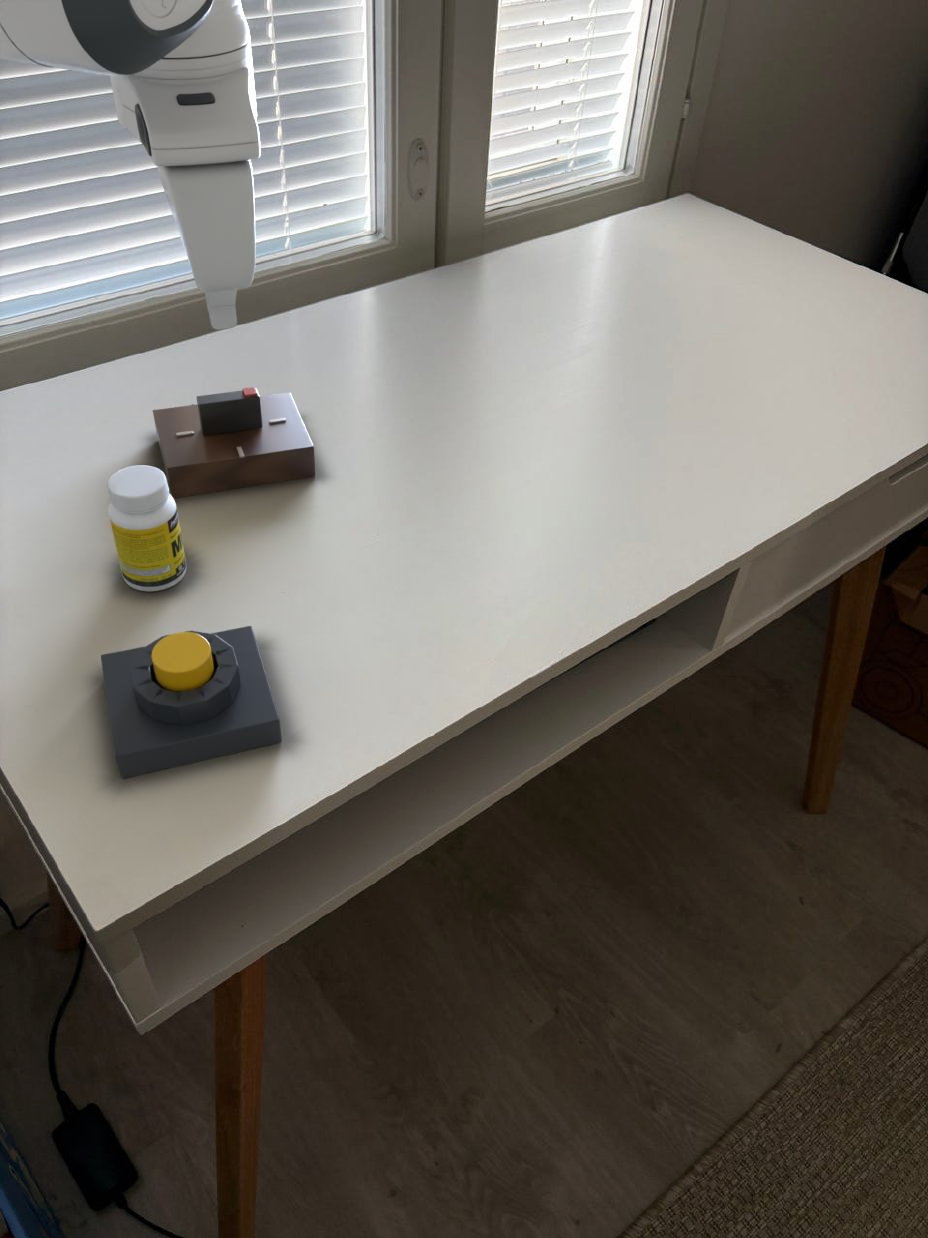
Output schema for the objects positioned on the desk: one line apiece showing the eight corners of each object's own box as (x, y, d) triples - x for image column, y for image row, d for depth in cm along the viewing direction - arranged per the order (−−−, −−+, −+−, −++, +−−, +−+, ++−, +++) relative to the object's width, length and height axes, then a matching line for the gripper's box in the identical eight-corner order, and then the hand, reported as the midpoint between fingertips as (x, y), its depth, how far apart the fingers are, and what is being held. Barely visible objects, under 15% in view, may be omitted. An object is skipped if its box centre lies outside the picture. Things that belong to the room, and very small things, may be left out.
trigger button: (159, 697, 62) (155, 678, 61) (152, 657, 65) (147, 638, 63) (218, 685, 63) (215, 665, 62) (208, 646, 66) (205, 626, 65)
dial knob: (203, 435, 84) (198, 401, 82) (200, 427, 85) (195, 393, 83) (262, 427, 86) (259, 393, 84) (259, 418, 87) (256, 385, 84)
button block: (120, 779, 62) (108, 737, 59) (106, 677, 68) (95, 635, 65) (282, 742, 65) (277, 700, 62) (254, 647, 71) (249, 605, 68)
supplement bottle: (190, 588, 75) (174, 496, 69) (124, 598, 74) (103, 505, 68) (183, 548, 78) (168, 457, 73) (120, 557, 77) (99, 465, 71)
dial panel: (172, 499, 83) (166, 467, 81) (157, 438, 89) (151, 407, 87) (315, 476, 86) (314, 445, 84) (291, 420, 92) (289, 389, 90)
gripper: (117, 45, 70) (150, 240, 80) (153, 147, 57) (188, 367, 66) (208, 41, 72) (230, 232, 82) (264, 139, 58) (283, 355, 68)
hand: (212, 294), depth 74 cm, fingers open, 8 cm apart
